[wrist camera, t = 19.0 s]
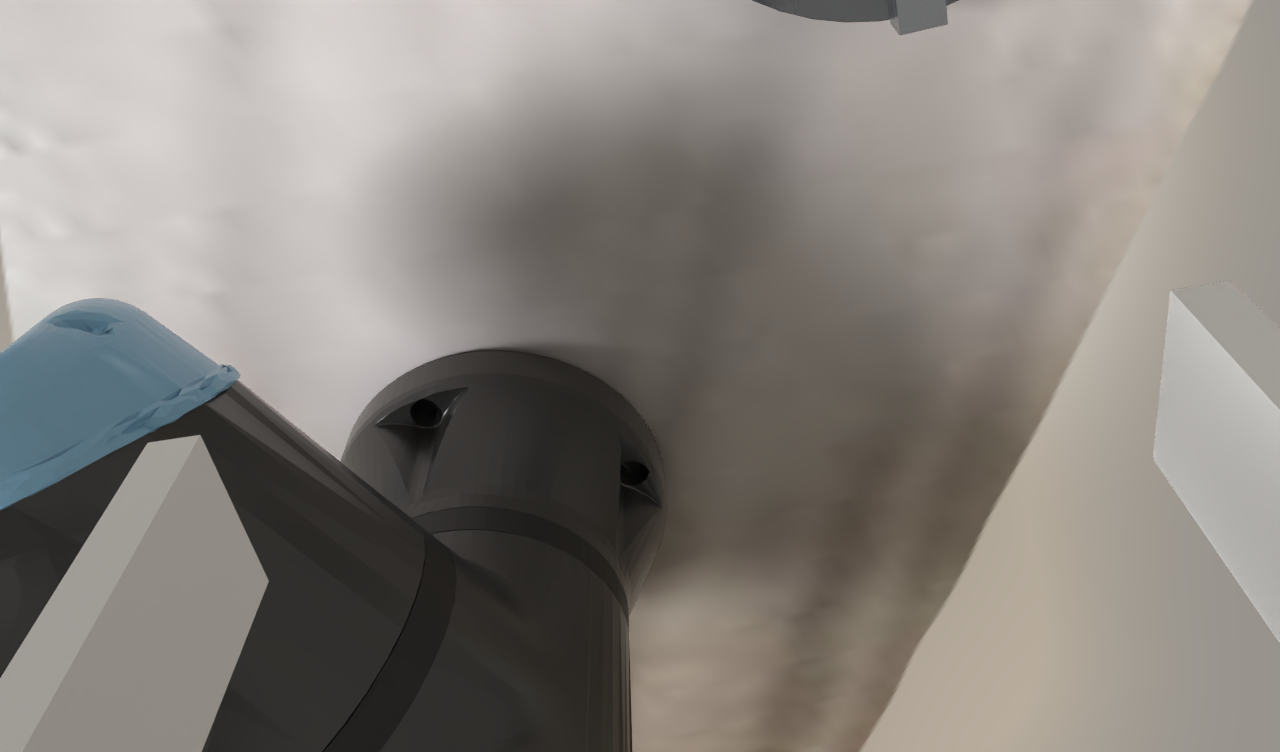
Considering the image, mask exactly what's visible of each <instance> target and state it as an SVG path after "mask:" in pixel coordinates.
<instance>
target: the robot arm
mask: <svg viewBox="0 0 1280 752" xmlns="http://www.w3.org/2000/svg"><path fill="white" fill-rule="evenodd" d="M240 375H241V374H240V373H239V372H238V371H237V370H236V369H235V368H233V367H232V366H231V365H218V364H217V363H215V362H214V361H213V360H211V359H210V358H208V357H207V356H205V355H204V354H203V353H201V352H200V351H198V350H197V349H196V348H194V347H193V346H191V345H190V344H189V343H187V342H186V341H184V340H183V339H181V338H180V337H179V336H177V335H176V334H174V333H173V332H172V331H170V330H169V329H167V328H166V327H165V326H163V325H162V324H160V323H159V322H158V321H156V320H155V319H154V318H152V317H151V316H149V315H148V314H147V313H145V312H144V311H142V310H140V309H138V308H136V307H135V306H133V305H130V304H127V303H125V302H121V301H118V300H112V299H103V298H95V299H85V300H80V301H76V302H73V303H70V304H67V305H65V306H62V307H60V308H59V309H57V310H56V311H54V312H53V313H51V314H49V315H48V316H47V317H45V318H44V319H43V320H41V321H40V322H39V323H38V324H36V325H35V326H34V327H33V328H31V329H30V330H29V331H27V332H26V333H25V334H24V335H22V336H21V337H20V338H19V339H17V340H16V341H15V342H14V343H12V344H11V345H10V346H9V347H7V348H6V349H5V350H3V351H2V352H1V353H0V752H632V725H631V689H630V652H629V615H630V613H631V610H632V608H633V606H634V604H635V602H636V599H637V597H638V595H639V593H640V591H641V588H642V586H643V584H644V582H645V580H646V577H647V575H648V573H649V571H650V569H651V566H652V564H653V562H654V560H655V558H656V555H657V553H658V551H659V548H660V545H661V541H662V537H663V533H664V528H665V521H666V494H665V475H664V468H663V463H662V459H661V455H660V452H659V449H658V446H657V444H656V442H655V440H654V437H653V436H652V434H651V432H650V430H649V428H648V427H647V425H646V424H645V422H644V421H643V419H642V418H641V417H640V416H639V414H638V413H637V412H636V411H635V409H634V408H633V407H632V406H631V405H630V404H629V403H628V402H627V401H626V400H625V399H624V398H623V397H622V396H620V395H619V394H618V393H617V392H616V391H614V390H613V389H612V388H611V387H609V386H608V385H606V384H605V383H603V382H602V381H600V380H599V379H597V378H595V377H593V376H592V375H590V374H588V373H586V372H584V371H582V370H580V369H578V368H575V367H573V366H571V365H568V364H566V363H563V362H560V361H557V360H554V359H550V358H546V357H543V356H538V355H533V354H527V353H520V352H509V351H482V352H471V353H464V354H459V355H453V356H449V357H445V358H441V359H438V360H435V361H432V362H429V363H427V364H424V365H422V366H420V367H417V368H415V369H413V370H411V371H409V372H407V373H406V374H404V375H402V376H401V377H399V378H397V379H396V380H395V381H393V382H392V383H390V384H389V385H388V386H387V387H385V388H384V389H383V390H382V391H381V392H379V393H378V394H377V395H376V396H375V397H374V398H373V399H372V401H371V402H370V403H369V404H368V405H367V407H366V408H365V409H364V411H363V412H362V413H361V415H360V416H359V418H358V420H357V422H356V423H355V425H354V427H353V429H352V432H351V434H350V437H349V439H348V442H347V445H346V448H345V450H344V453H343V456H342V459H341V462H340V461H339V460H337V459H336V458H335V457H334V456H332V455H331V454H330V453H329V452H327V451H326V450H325V449H324V448H322V447H321V446H320V445H319V444H317V443H316V442H315V441H314V440H312V439H311V438H310V437H309V436H307V435H306V434H305V433H303V432H302V431H301V430H300V429H298V428H297V427H296V426H295V425H293V424H292V423H291V422H290V421H288V420H287V419H286V418H285V417H283V416H282V415H281V414H280V413H278V412H277V411H276V410H275V409H273V408H272V407H271V406H270V405H268V404H267V403H266V402H265V401H263V400H262V399H261V398H260V397H258V396H257V395H256V394H255V393H253V392H252V391H251V390H250V389H248V388H247V387H246V386H245V385H243V384H242V383H241V382H240V381H238V380H237V379H238V378H239V377H240ZM1153 460H1154V462H1155V463H1156V464H1157V466H1158V467H1159V469H1160V470H1161V472H1162V473H1163V475H1164V476H1165V478H1166V479H1167V481H1168V482H1169V483H1170V485H1171V486H1172V488H1173V489H1174V491H1175V492H1176V494H1177V495H1178V496H1179V498H1180V499H1181V501H1182V502H1183V504H1184V505H1185V506H1186V508H1187V509H1188V511H1189V512H1190V514H1191V515H1192V517H1193V518H1194V519H1195V521H1196V523H1197V524H1198V525H1199V527H1200V528H1201V530H1202V531H1203V533H1204V534H1205V536H1206V537H1207V539H1208V540H1209V541H1210V543H1211V544H1212V546H1213V547H1214V549H1215V550H1216V552H1217V553H1218V555H1219V556H1220V557H1221V559H1222V560H1223V562H1224V563H1225V565H1226V566H1227V567H1228V569H1229V571H1230V572H1231V573H1232V575H1233V576H1234V578H1235V579H1236V581H1237V582H1238V583H1239V585H1240V586H1241V588H1242V589H1243V591H1244V592H1245V594H1246V595H1247V597H1248V598H1249V600H1250V601H1251V602H1252V604H1253V605H1254V607H1255V608H1256V610H1257V611H1258V613H1259V614H1260V615H1261V617H1262V618H1263V620H1264V621H1265V623H1266V624H1267V625H1268V627H1269V629H1270V630H1271V631H1272V633H1273V634H1274V636H1275V637H1276V639H1277V640H1278V642H1279V643H1280V328H1279V327H1278V326H1277V325H1276V324H1275V323H1274V322H1273V321H1272V320H1271V319H1270V318H1269V317H1268V316H1267V315H1266V314H1265V313H1264V312H1263V311H1262V310H1261V309H1260V308H1259V307H1258V306H1257V305H1256V304H1254V303H1253V302H1252V301H1251V300H1250V299H1249V298H1248V297H1247V296H1246V295H1245V294H1244V293H1243V292H1242V291H1241V290H1240V289H1239V288H1238V287H1237V286H1236V285H1235V284H1234V283H1233V282H1232V281H1226V282H1220V283H1213V284H1207V285H1200V286H1193V287H1186V288H1179V289H1173V290H1170V298H1169V307H1168V317H1167V327H1166V336H1165V345H1164V355H1163V365H1162V374H1161V383H1160V393H1159V402H1158V412H1157V422H1156V431H1155V441H1154V451H1153Z"/></svg>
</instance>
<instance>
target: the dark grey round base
mask: <svg viewBox="0 0 1280 752" xmlns="http://www.w3.org/2000/svg"><path fill="white" fill-rule="evenodd" d="M753 1H755V2H758V3H760V4H763V5H765V6H768V7H771V8H773V9H776V10H778V11H781V12H785V13H789V14H794V15H798V16H802V17H806V18H810V19H817V20H827V21H837V22H870V21H883V20H889V19H890V22H891V25H892V26H893V27H894V28H895V30H896V31H897V32H898V34H899V35H903V34H908V33H912V32H916V31H921V30H925V29H929V28H934V27H938V26H942V25H947V24H948V22H947V9H946V6H947V5H949V4H951V3H954V2H956V1H958V0H753Z"/></svg>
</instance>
